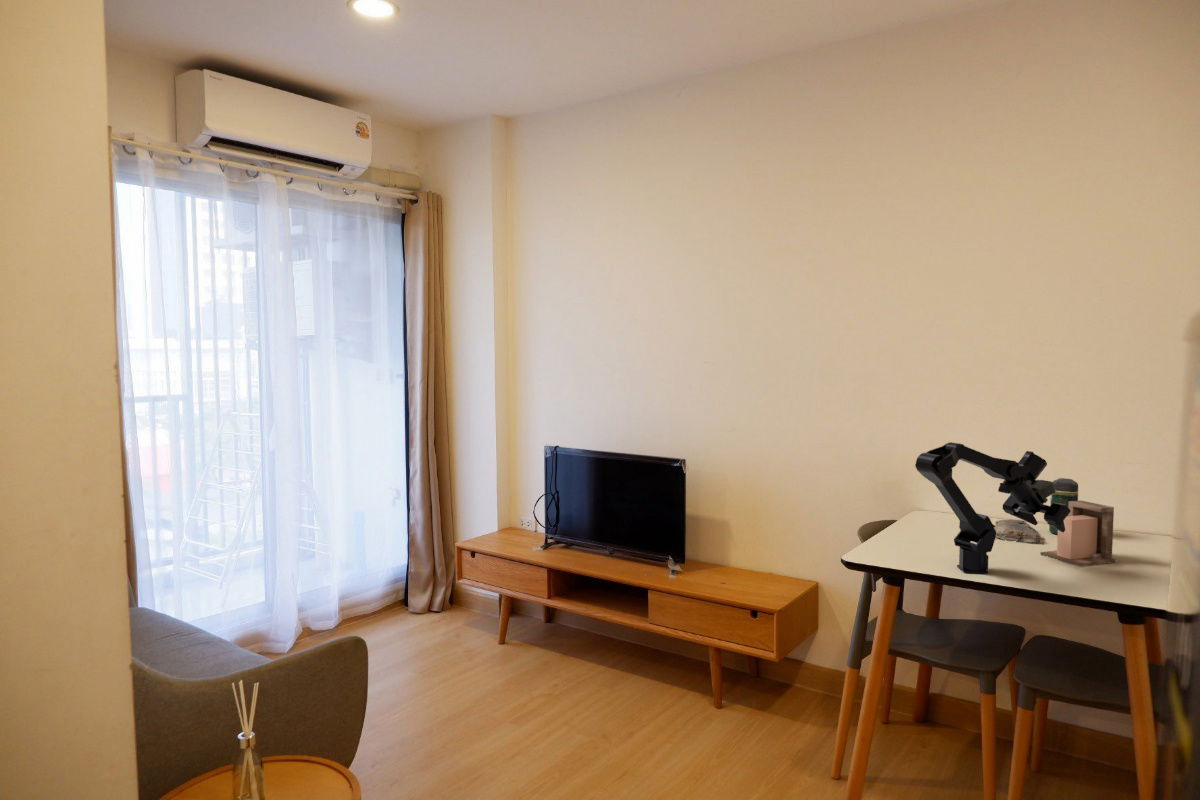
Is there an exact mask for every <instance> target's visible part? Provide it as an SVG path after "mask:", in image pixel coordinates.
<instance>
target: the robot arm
mask: <svg viewBox="0 0 1200 800" xmlns="http://www.w3.org/2000/svg"><path fill="white" fill-rule="evenodd" d="M959 461H961V462H965V463H967V464H969V465H973V466H975V467H977V468H980V469H982V470H983V471H984V473H986V474H987V475H989V476H990V477H992V478H995V479H1000V480H1002V482H1000V483H999V487H998V490H997V491H998V492H999V493H1004V494H1009V495H1008V498H1007V499H1006V500H1005V501H1004V502H1003V504H1002V510H1003V511H1004V513H1005V514H1009V515H1010V516H1012V517H1013V516H1014V517H1016V518H1018V519H1019V520H1021V521H1025V522H1026V523H1028V524H1031V525H1033V526H1037V525H1038V523H1039V522H1038V521H1037V518H1036V517H1035V515H1036V514H1037V513H1042V514H1043V520H1044V521H1045V522H1046V523H1047V525H1048V526H1049V525H1050V526H1052V527H1054V528H1055V529H1057V530H1059V531H1061V532H1064V531H1065V525H1064V519H1065V518H1066V517H1067V515H1068V514H1069V513H1070V511H1071V510H1070V508H1069V507H1068V506H1067V505H1065V504H1060V503H1052V505H1051V506H1050V505H1046V503H1047V502H1048V497H1051V494H1054V493H1055V492H1056V491H1055V488H1054V485H1053V481H1051V480H1045V479H1037V478H1038V477H1039V476H1040V475H1041V473H1042V472H1044V471H1043V470H1045V468H1046V467H1047V466H1048V462H1047V460H1045V458H1043V457H1041V456H1040V455H1037V454H1036V453H1034V451H1029V450H1026V452H1024V454H1023V455H1022V457H1021V459H1020V460H1019V461H1018V462H1017V460H1011V459H1005V458H998V457H993V456H991V455H988V454H986V453H983V452H980V451H979V450H976V449H974V448H971V447H969V446H966V445H964V443H963V444H962V443H958V442H952V441H949V442H947V443H945V444H944V445H942V446H939V447H936V448H933V449H929V450H928V451H926V452H922V453H920V454H919V455H918V456H917V458H916V461H915V464H914V467H915V469H916V470H917V472H918V473H919V474H920V475H921V476H922V477H924V479H926V480H927V481H930V483H932V484H934V486H935V487H936V488H937V490H938V491H939V492H940V494H941V495H942V497H943V499H944V500H945V501H946V502H947V504H948V505H949V508H950V509H951V510H952V511H953V514H955V515H956V517H957V518H958V521H959V526H958V528H959V530H960V531H959V532H958V533H957V535H956V536H954V538H953V543H954V546H955V547H959V551H958V552H959V555H958V556H959V559H958V564H957V565H956V567H957V569H959V570H961V571H962V572H963V573H965V574H989V572H990V571H988V570H989V555H988V553H991V552H992V551H993V546H994V543H995V541H996V539H997V538H996V530H995V528H994V527H995V525H996V524H993V523H992V521H991V518H990V517H989V516H988V515H985V514H981V513H978V512H976V511H975V509H974V508H973V506H972V504H970V502H969V500H968V499H967V497H966V496H965V494H964V492H963V491H962V490H961V489H960V487H959V485H958V484H957V483H956V481H955V480H954V479H953V468H955V467H956V466H957V464H958V463H959Z"/></svg>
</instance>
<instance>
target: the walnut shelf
mask: <svg viewBox="0 0 1200 800" xmlns="http://www.w3.org/2000/svg"><path fill="white" fill-rule="evenodd" d="M1068 507H1069V508H1070V510H1071V511H1070V513H1069V514H1068V516H1078V515H1086V516H1091V517H1095V518H1098V524H1097V550H1096V554H1092V557H1086V558H1077V559H1068V558H1064V557H1061V556H1058V555H1057V549H1056V550H1049V551H1040V554H1041V555H1040V556H1043V555H1044V556H1043V557H1046V556H1048V557H1047V558H1049V557H1050V559H1053V558H1054V559H1053V560H1056V559H1057V560H1056V561H1060V562H1063V563H1067V564H1071V565H1074V566H1076V567H1086V566H1096V565H1103V564H1102V563H1104V564H1110V563H1109V562H1112V563H1116V562H1117V559H1115V558H1113V542H1114V541H1113V539H1114V518H1115V517H1114V515H1115V511H1114V510H1115V508H1114V506H1112V505H1111V506H1110V505H1105V504H1100V503H1096V502H1091V501H1085V500H1078V501H1069V506H1068ZM1095 564H1096V565H1095Z"/></svg>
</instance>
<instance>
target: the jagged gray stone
mask: <svg viewBox="0 0 1200 800" xmlns="http://www.w3.org/2000/svg"><path fill="white" fill-rule="evenodd" d="M994 525H995V527H994V528H995V530H996V538H995V539H999V538H1000V540H1003V541H1005V540H1006V542H1012V541H1016V543H1018V542H1019V541H1020V542H1019V543H1025V542H1026V543H1028V544H1033V543H1036V544H1038V543H1039V542H1040V540H1041V539H1040V537H1041V536H1040V534H1039V531H1038V530H1036V529H1035V528H1034V527H1032V526H1031V525H1030V523H1028V522H1026V521H1024V520H1022V519H1001V520H997V521H996V522H995V524H994Z"/></svg>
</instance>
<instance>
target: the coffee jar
mask: <svg viewBox="0 0 1200 800" xmlns="http://www.w3.org/2000/svg"><path fill="white" fill-rule="evenodd" d="M1052 482H1053V485H1054V488H1055V491H1056V492H1055V493H1054V494H1051V495H1050V502H1049V503H1050V505H1049V506H1051V505H1052V503H1060V504H1065V505H1067V506H1069V501H1079V482H1077V481H1076V480H1073V479H1072V478H1064V477H1059V478H1058V479H1055V480H1053V481H1052ZM1067 516H1068V515H1067ZM1048 526H1049V527H1048V528H1049V532H1050V533H1051V534H1055V535H1058V530H1057V529H1055V528H1054V527H1052V526H1050V525H1049V524H1048Z"/></svg>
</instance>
